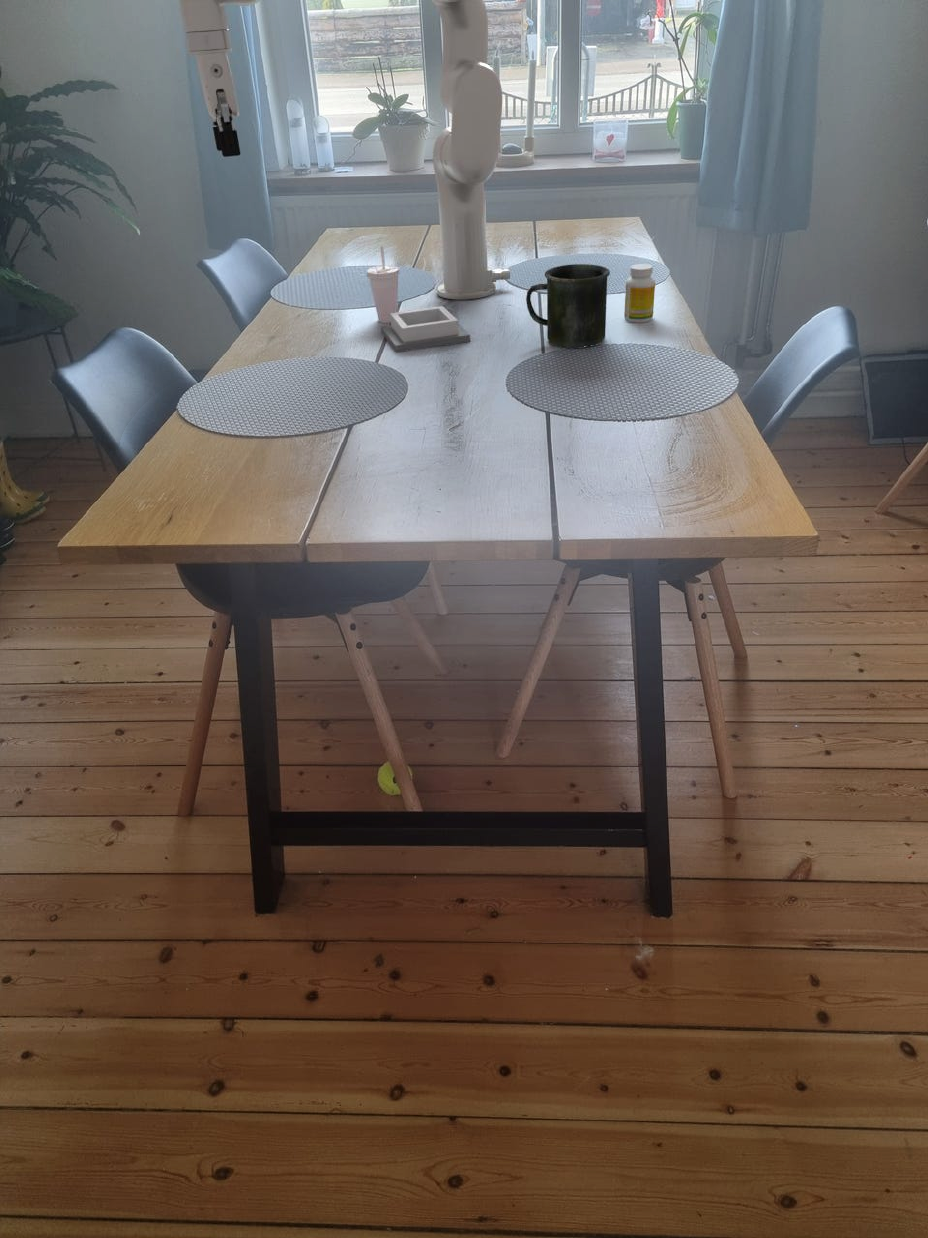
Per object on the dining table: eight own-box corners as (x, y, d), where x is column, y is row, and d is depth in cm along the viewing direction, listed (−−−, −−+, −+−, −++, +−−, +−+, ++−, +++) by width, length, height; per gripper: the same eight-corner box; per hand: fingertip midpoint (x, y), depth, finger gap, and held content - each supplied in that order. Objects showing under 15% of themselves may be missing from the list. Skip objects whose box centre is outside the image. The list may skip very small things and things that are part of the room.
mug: (607, 350, 158) (609, 279, 151) (523, 350, 160) (522, 280, 153) (608, 331, 167) (610, 263, 160) (529, 331, 169) (528, 264, 162)
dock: (451, 322, 176) (449, 302, 174) (470, 341, 166) (469, 320, 164) (381, 332, 174) (379, 312, 172) (396, 352, 163) (394, 331, 161)
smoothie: (408, 315, 182) (402, 242, 174) (396, 325, 177) (389, 250, 169) (379, 314, 184) (371, 241, 176) (366, 324, 179) (358, 249, 171)
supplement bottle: (618, 318, 173) (620, 265, 167) (641, 313, 175) (644, 261, 169) (635, 324, 169) (638, 271, 163) (658, 319, 171) (662, 266, 165)
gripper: (236, 42, 151) (255, 156, 161) (225, 40, 165) (243, 145, 175) (190, 45, 150) (212, 160, 159) (183, 44, 163) (203, 149, 173)
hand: (228, 152), depth 167 cm, fingers open, 9 cm apart
